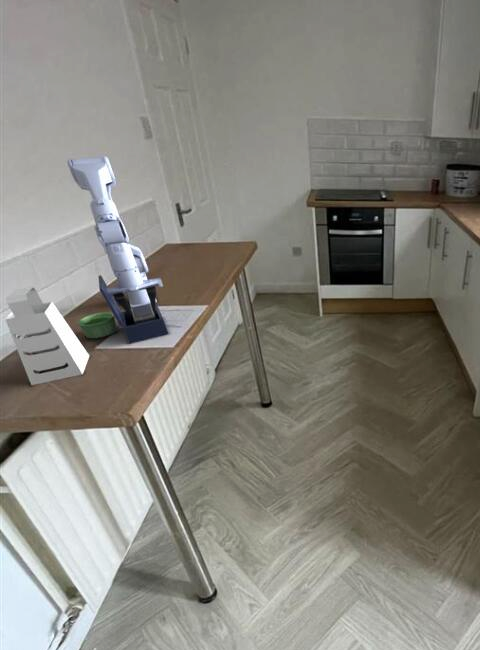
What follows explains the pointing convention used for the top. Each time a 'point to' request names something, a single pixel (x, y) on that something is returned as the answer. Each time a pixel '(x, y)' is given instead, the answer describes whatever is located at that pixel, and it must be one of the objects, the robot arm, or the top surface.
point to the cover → (110, 301)
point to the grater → (43, 338)
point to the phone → (143, 313)
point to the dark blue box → (143, 327)
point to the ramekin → (98, 325)
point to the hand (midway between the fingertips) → (144, 315)
